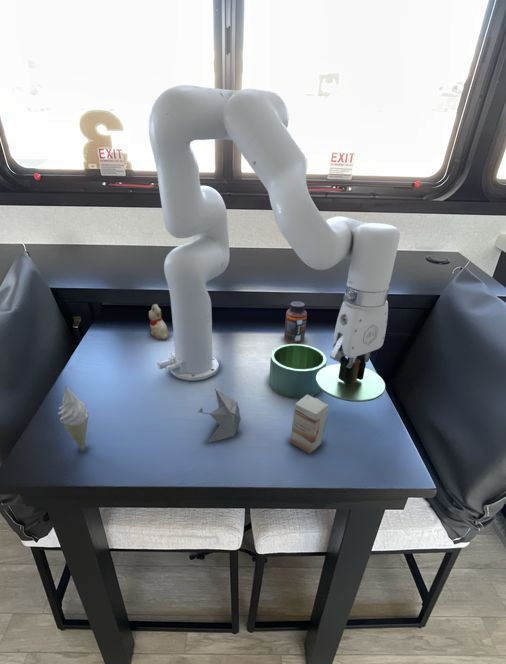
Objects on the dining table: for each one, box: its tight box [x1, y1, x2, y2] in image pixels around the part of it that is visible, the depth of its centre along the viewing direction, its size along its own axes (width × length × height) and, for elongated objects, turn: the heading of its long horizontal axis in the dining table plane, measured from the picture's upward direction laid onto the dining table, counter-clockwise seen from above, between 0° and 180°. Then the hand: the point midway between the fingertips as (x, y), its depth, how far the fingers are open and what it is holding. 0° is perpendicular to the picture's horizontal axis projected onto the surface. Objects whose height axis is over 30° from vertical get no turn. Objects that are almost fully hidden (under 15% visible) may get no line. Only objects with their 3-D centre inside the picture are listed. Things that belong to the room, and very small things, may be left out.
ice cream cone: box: [57, 386, 90, 452], centre depth 77 cm, size 5×5×15 cm
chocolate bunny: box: [148, 303, 170, 341], centre depth 122 cm, size 6×8×10 cm
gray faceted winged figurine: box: [197, 388, 241, 443], centre depth 87 cm, size 12×6×9 cm
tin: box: [268, 343, 328, 399], centre depth 101 cm, size 13×13×8 cm
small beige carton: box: [289, 394, 329, 454], centre depth 82 cm, size 5×4×10 cm
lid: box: [316, 357, 386, 403], centre depth 86 cm, size 14×14×6 cm
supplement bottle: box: [283, 301, 308, 344], centre depth 120 cm, size 6×6×11 cm
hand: (350, 378), depth 87 cm, fingers closed on lid, 2 cm apart
